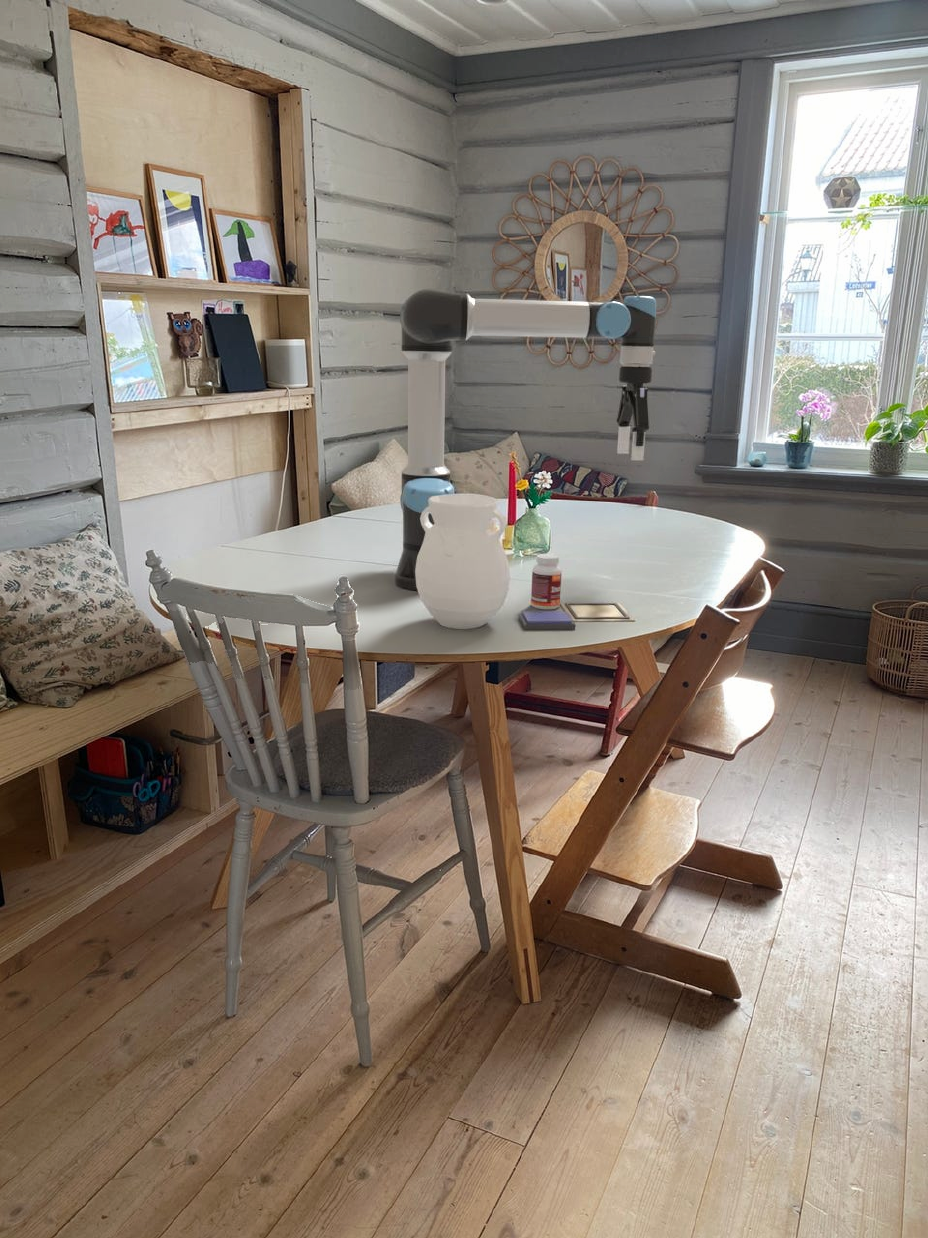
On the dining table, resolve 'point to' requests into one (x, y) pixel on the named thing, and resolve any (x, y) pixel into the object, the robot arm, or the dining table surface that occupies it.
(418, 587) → the white ceramic vase
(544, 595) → the pill bottle
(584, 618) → the cream flat square
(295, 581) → the dining table surface
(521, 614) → the ink pad
